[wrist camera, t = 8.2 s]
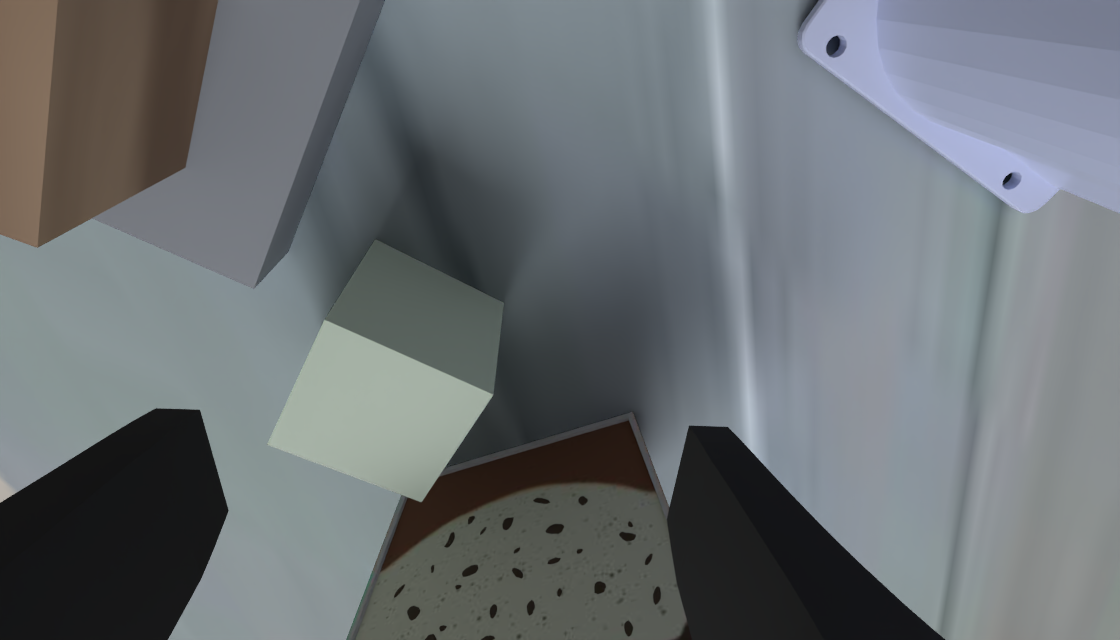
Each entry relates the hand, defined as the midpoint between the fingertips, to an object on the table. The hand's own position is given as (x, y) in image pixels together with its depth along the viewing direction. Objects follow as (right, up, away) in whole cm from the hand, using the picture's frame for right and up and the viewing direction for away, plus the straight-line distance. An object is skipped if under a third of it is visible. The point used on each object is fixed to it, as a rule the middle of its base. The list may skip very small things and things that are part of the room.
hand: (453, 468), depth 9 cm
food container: (+1, -5, +15) cm, 16 cm away
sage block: (-3, +2, +11) cm, 12 cm away
